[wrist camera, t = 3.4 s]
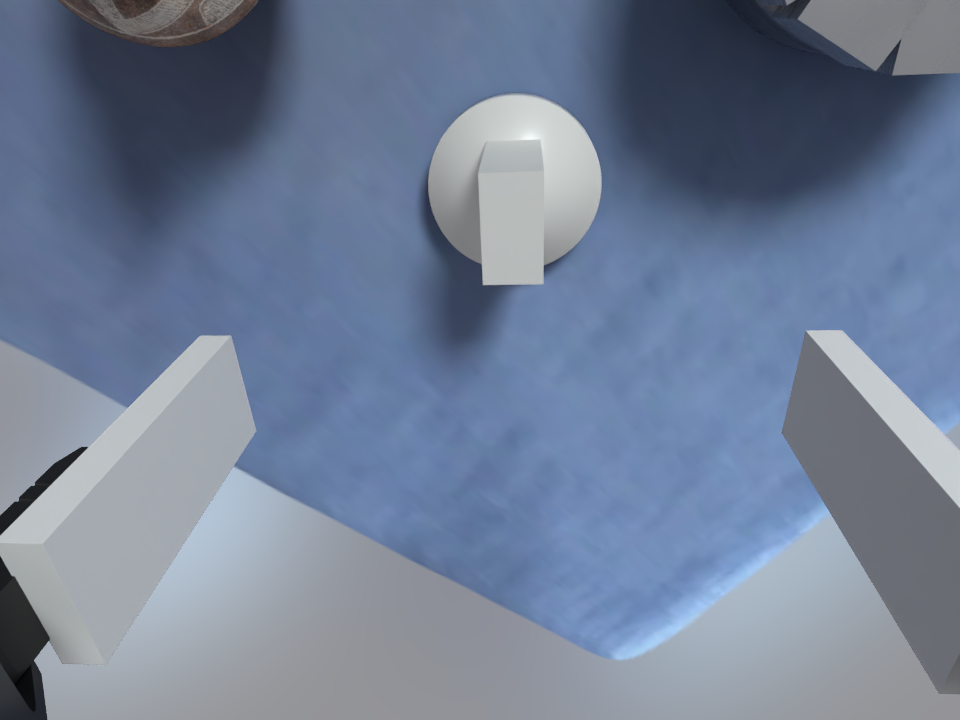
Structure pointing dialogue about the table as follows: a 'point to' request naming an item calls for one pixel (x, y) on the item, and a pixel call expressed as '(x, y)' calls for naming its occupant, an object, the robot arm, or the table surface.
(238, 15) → the pottery
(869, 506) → the robot arm
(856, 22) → the toothed ring drum
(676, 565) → the table surface
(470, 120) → the cap
